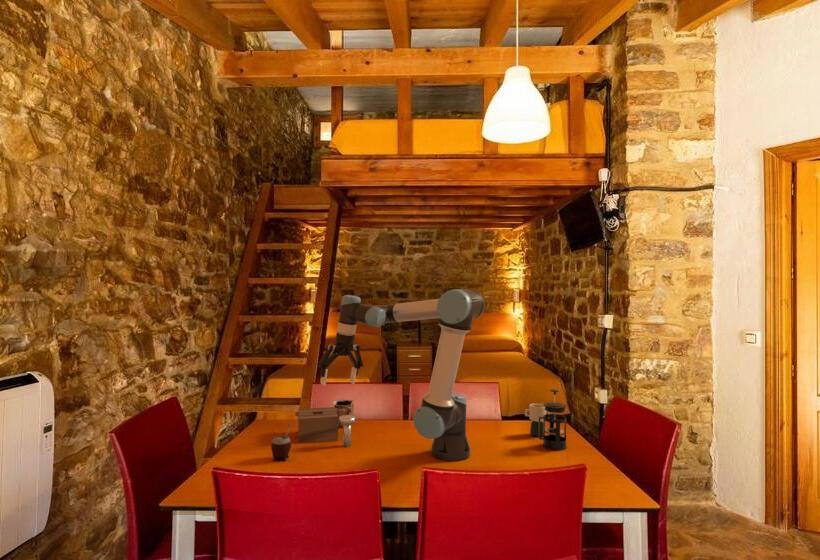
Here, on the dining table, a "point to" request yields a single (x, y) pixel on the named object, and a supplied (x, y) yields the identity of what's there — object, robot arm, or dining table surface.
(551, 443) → the french press
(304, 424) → the hitch block
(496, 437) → the dining table surface
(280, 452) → the mate gourd
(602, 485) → the dining table surface
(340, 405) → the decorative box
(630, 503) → the dining table surface
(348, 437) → the steel pin
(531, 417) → the character mug
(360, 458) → the dining table surface
